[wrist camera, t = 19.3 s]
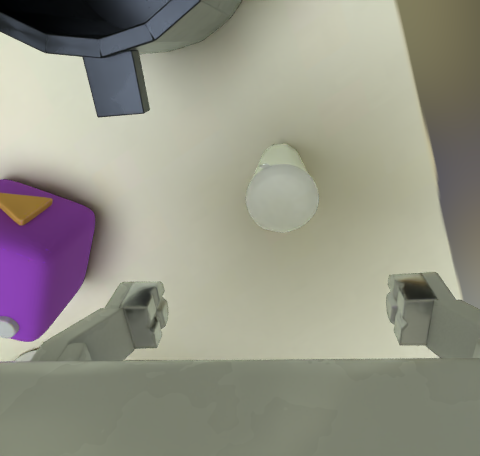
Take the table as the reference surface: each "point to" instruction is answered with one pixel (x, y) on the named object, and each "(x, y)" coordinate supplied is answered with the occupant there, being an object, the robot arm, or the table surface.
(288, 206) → the milkshake
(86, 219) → the toy camera
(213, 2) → the pot
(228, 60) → the table surface
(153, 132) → the table surface
